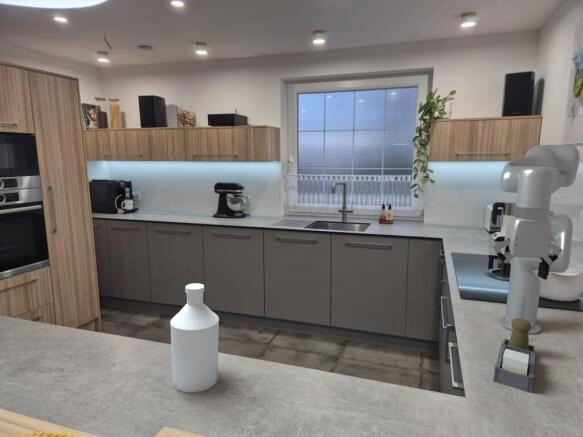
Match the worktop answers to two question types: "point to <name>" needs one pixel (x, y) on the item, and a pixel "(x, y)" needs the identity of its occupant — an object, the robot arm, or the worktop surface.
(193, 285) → the bottle
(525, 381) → the grey divided tray
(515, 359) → the white block
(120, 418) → the worktop surface
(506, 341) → the wooden square frame
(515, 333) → the cork
